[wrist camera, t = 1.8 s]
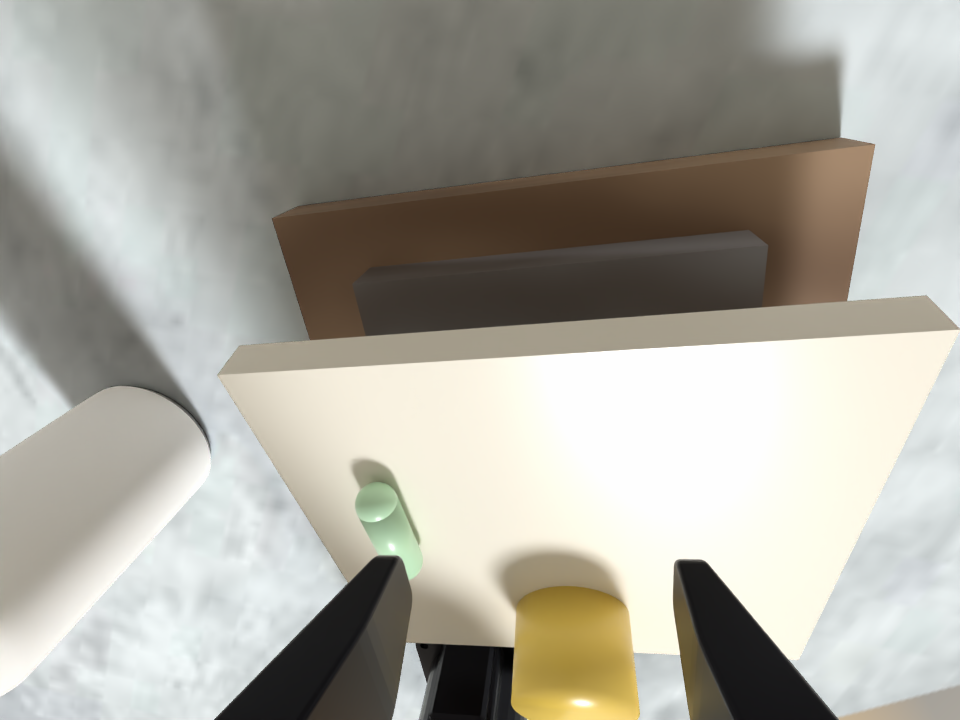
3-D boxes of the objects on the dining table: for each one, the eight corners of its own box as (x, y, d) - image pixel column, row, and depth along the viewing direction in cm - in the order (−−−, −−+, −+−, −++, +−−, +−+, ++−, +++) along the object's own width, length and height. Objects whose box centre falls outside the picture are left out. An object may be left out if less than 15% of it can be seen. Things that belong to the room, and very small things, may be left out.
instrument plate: (787, 626, 20) (831, 759, 17) (391, 613, 23) (365, 723, 20) (926, 295, 11) (1081, 450, 8) (239, 345, 14) (145, 471, 11)
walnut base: (776, 562, 24) (809, 637, 21) (400, 557, 27) (377, 621, 24) (841, 137, 16) (911, 151, 13) (298, 206, 19) (244, 230, 16)
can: (88, 361, 24) (-277, 573, 14) (222, 410, 24) (-36, 656, 14) (92, 462, 27) (-202, 698, 17) (211, 505, 28) (-7, 764, 17)
